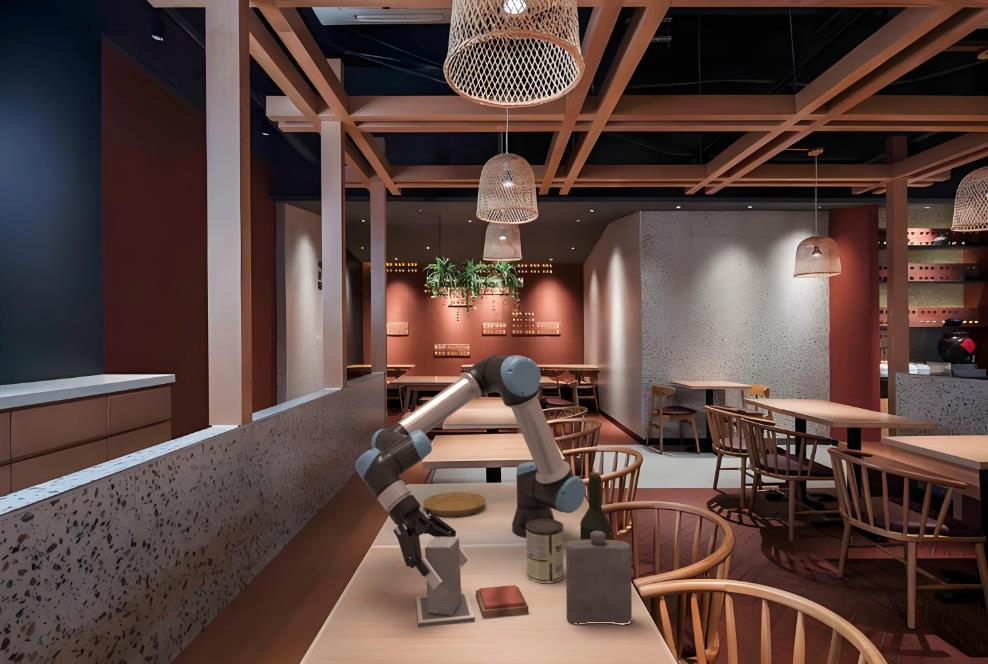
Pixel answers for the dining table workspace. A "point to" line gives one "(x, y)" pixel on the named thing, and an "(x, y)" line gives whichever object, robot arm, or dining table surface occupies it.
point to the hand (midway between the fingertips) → (452, 573)
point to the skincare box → (444, 575)
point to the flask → (598, 580)
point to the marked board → (459, 616)
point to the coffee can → (544, 550)
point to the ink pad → (501, 601)
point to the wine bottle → (594, 511)
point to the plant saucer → (454, 503)
